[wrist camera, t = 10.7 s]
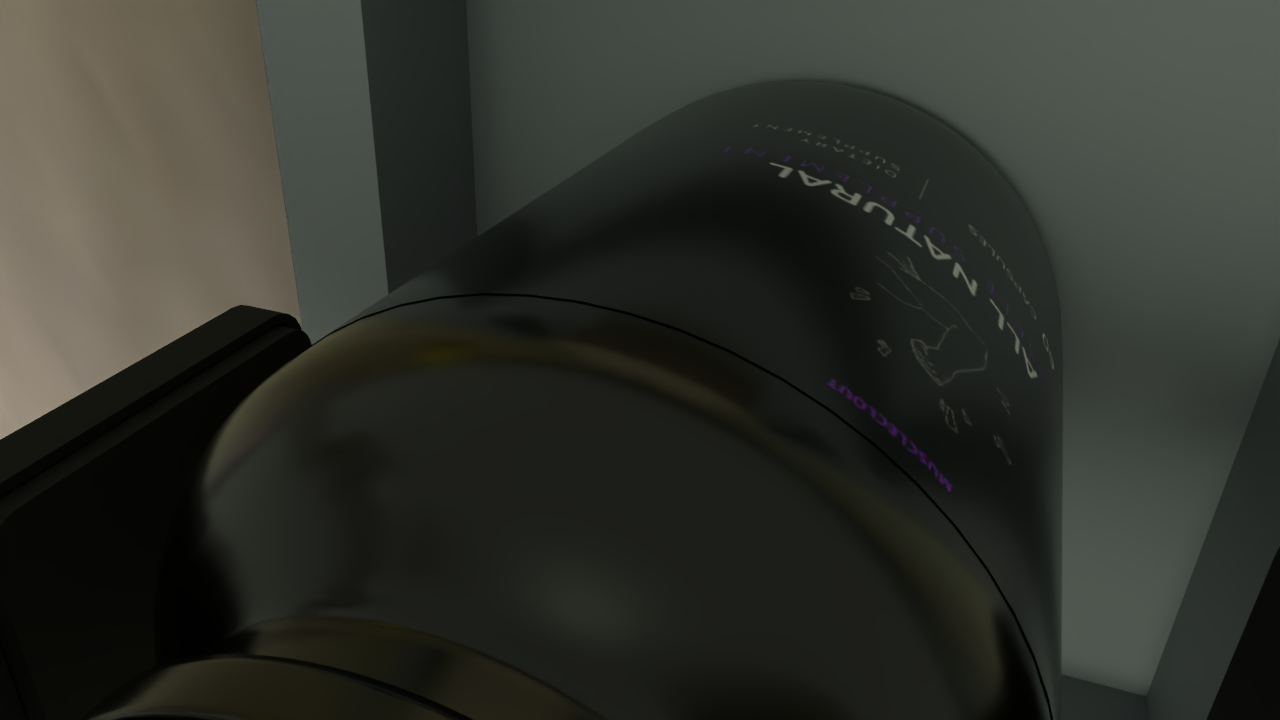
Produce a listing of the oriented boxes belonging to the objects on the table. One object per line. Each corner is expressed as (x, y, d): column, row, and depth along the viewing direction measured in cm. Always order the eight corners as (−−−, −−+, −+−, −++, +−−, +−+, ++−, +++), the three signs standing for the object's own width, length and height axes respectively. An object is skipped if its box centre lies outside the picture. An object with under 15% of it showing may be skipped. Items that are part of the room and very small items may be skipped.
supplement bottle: (1106, 75, 12) (1463, 1541, 2) (1020, 549, 15) (961, 2069, 5) (564, 55, 14) (-731, 618, 4) (588, 472, 17) (-86, 1394, 7)
